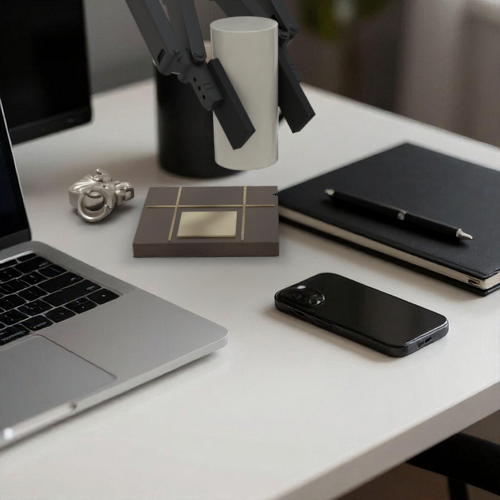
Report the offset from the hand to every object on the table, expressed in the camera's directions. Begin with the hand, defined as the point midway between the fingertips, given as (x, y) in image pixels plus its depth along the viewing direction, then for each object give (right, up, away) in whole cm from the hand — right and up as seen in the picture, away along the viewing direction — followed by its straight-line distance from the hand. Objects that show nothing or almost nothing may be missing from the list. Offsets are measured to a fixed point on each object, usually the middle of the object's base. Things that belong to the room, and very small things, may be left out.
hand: (274, 131), depth 71 cm
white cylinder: (-2, -2, +4) cm, 5 cm away
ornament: (-18, -5, +28) cm, 33 cm away
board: (-6, -7, +23) cm, 25 cm away
